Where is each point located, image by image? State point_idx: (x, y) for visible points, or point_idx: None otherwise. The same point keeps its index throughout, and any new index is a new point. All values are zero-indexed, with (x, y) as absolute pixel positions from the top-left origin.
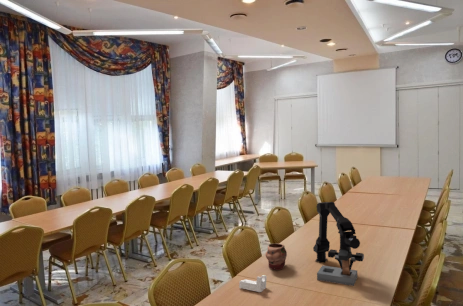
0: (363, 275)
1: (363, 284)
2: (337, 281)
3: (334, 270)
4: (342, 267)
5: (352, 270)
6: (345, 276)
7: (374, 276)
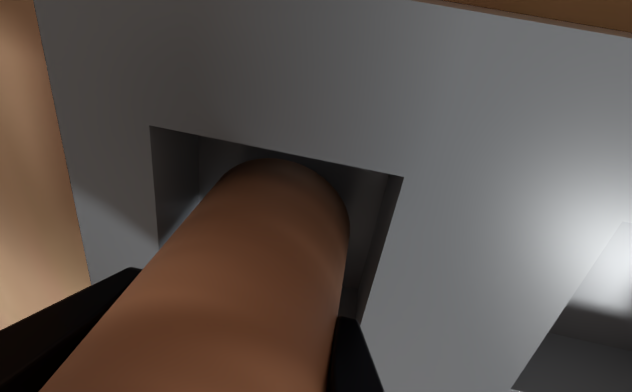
0: None
1: (26, 66)
2: (472, 6)
3: (518, 347)
4: (317, 356)
5: None
6: (258, 58)
7: (9, 309)
